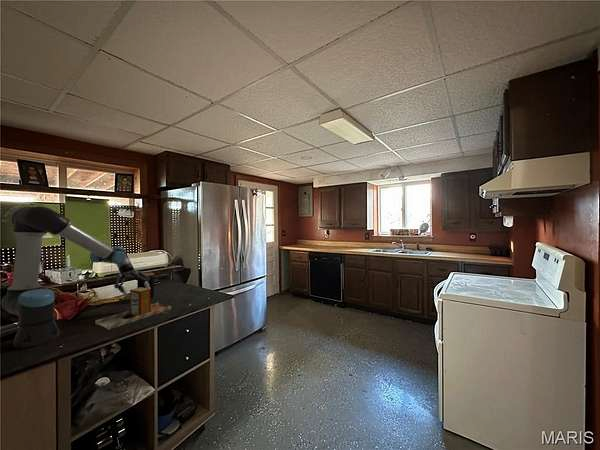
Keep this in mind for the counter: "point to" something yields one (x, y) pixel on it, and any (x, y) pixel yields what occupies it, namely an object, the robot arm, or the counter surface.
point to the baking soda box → (140, 301)
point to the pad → (111, 322)
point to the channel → (130, 318)
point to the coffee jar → (151, 282)
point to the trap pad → (156, 308)
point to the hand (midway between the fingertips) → (138, 292)
